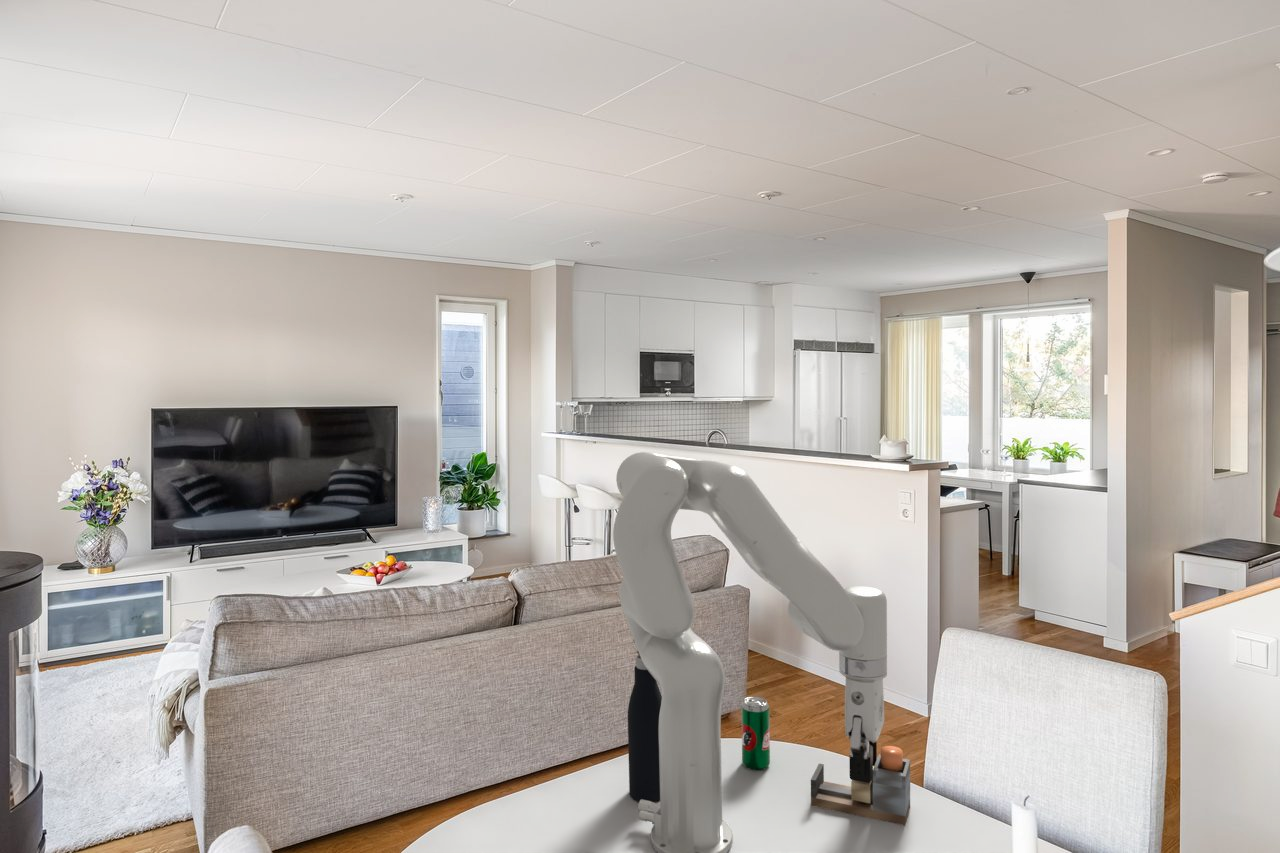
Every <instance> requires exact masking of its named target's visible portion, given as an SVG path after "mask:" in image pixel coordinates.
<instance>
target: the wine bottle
mask: <svg viewBox="0 0 1280 853" xmlns="http://www.w3.org/2000/svg"><path fill="white" fill-rule="evenodd" d="M632 639H633V638H632ZM632 642H633V643H634V644H635V642H634V639H633V641H632ZM636 652H637V655H636V656H635V657H636V658H635V665H634V670H633V671H634V673H633V674H634V684H633V688H632V691H631V693H630V697H629V702H628V707H627V744H628V787H629V789H628V790H629V796H630V798H631V799H632V800H634V801H636V802H638V803H639V802H640V800H641V799H643V800H647V801H651V802H654V803H658V802H660V772H659V735H658V727H659V713H660V707H661V701H662V692H661V689H660V686H659V684H658V683H657V681H656V680H655V679H654V677H653V676H652V675H651V674H650V673H649V671H648V670H647V668H646V667H645V665H644V663H643V661H642V659H641V657H640V654H639V652H638V650H636Z"/></svg>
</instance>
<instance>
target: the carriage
mask: <svg viewBox="0 0 1280 853" xmlns="http://www.w3.org/2000/svg"><path fill="white" fill-rule="evenodd" d="M864 745H865V743H861V746H863V748H864ZM868 757H870V782H869V783H866V782H861V781H856V780H851V781H850V786H851V800H856V801H861V802H866V803H871V800H872V797H873V769H874V766H873V747H872V746H871V745H870V744H869V754H868Z"/></svg>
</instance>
